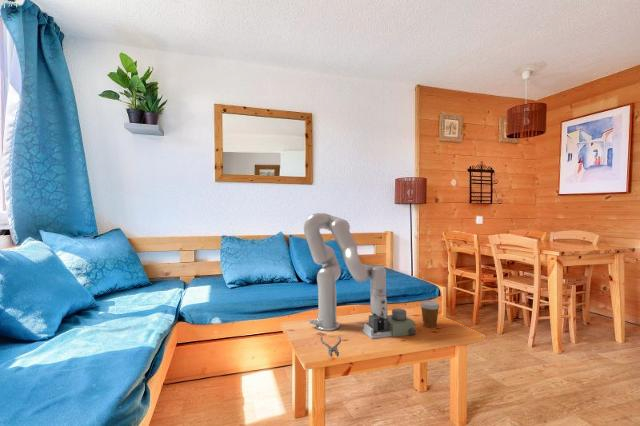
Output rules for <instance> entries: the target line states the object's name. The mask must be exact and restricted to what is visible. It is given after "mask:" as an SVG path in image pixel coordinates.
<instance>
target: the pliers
mask: <svg viewBox="0 0 640 426" xmlns="http://www.w3.org/2000/svg"><path fill="white" fill-rule="evenodd" d="M337 338H338V339H339V340H338V341H337V342H336V343H335V344H334V345H333V346H331V345H329V344H328V343H326V342H324V341H323V336H320V342H321V343H322V344H323V345H325V346H326V347H327V348H328V352H327V353H328V355H329V356H330V357H332V353H333V352H334V354H335V355H336V356H337V357H339V350H338V349H337V348H338V345H339V344H340V343H341V336H338V337H337Z"/></svg>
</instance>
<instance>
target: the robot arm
mask: <svg viewBox="0 0 640 426" xmlns="http://www.w3.org/2000/svg"><path fill="white" fill-rule="evenodd" d="M350 228H351V226H350V223H349V222H348V221H347V220H346V219H344V218H340V217H338V216H334V215H331V214H330V213H329V214H328V213H326V212H316V213H312V214H311V215H309V216H308V217H307V218H306V220H305V222H304V224H303V232H304V236H305V239H306V242H307V244H308V248H309V251H310V254H311V257H312V260H313V262H314V263H315V264H316V265H321V266H322V268H320V269H319V270H318V272H317V275H316V282H317V292H318V293H317V294H318V295H317V296H318V297H317V298H318V302H317V303H318V308H317V309H318V316H316V318H314V319H309V324H310V325H312V326H315V328H316V329H318V330H319V331H325V332H326V331H328V332H330V331H336V330H338V329H339V328H340V323H339V322H338V321H337V287H336V281H337V280H339V278H340V277H341V274H342V271H341V266H340V264H339V260H338V259H337V256H336V253H335V250H334V249H333V247H331V246H330V245H326V244H325V240H324V238H323V235H322V234H321V229H323V230H327V231H329V232H330V233H331V234H332V237H333V238H334V240H335V241H336V243H337V246H338V247H339V248H340V250H341V253H342V257H343V260H344V263H345V267H346V268H347V270H348V272H349V273H350V276H351V277H352V279H354V281H356V282H357V283H365V282H366V281H368V279H370V282H369V283H370V289H369V290H370V303H369V305H370V311H371V315H377V316H378V321H379V322H378V330H379V331H380V330H384V322H385V319H387V317H386V316H388V313H389V312H388V300H387V280H386V279H387V268H386V267H385V266H383V265H371V264H365V263H362V261H361V259H360V257H359V254H358V245H357V242H356V240H355V239H354V236H353V235H352V233H351V231H350V230H351V229H350ZM380 314H382V315H380ZM380 317H382V318H381V319H380Z"/></svg>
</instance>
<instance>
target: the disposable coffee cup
mask: <svg viewBox="0 0 640 426" xmlns="http://www.w3.org/2000/svg"><path fill="white" fill-rule="evenodd" d="M420 308H421V317H422V323H423V327H426V328H429V329H434V328H436V327H437V322H438V315H439V308H440V305H439V303H438V302H437V301H433V300H422V301H421V302H420Z"/></svg>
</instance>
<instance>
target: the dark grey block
mask: <svg viewBox="0 0 640 426" xmlns="http://www.w3.org/2000/svg"><path fill="white" fill-rule="evenodd" d="M380 315H382V314H380ZM387 316H388V315H387ZM387 316H386V317H387ZM381 318H382V317H380V319H381ZM378 322H379V321H378V316H377V315H372V314H371V315H368V325H369V326H370V327H371V328H372V329H373V331H379V330H378ZM384 330H388V317H387V319H385V322H384ZM380 331H381V330H380Z"/></svg>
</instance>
